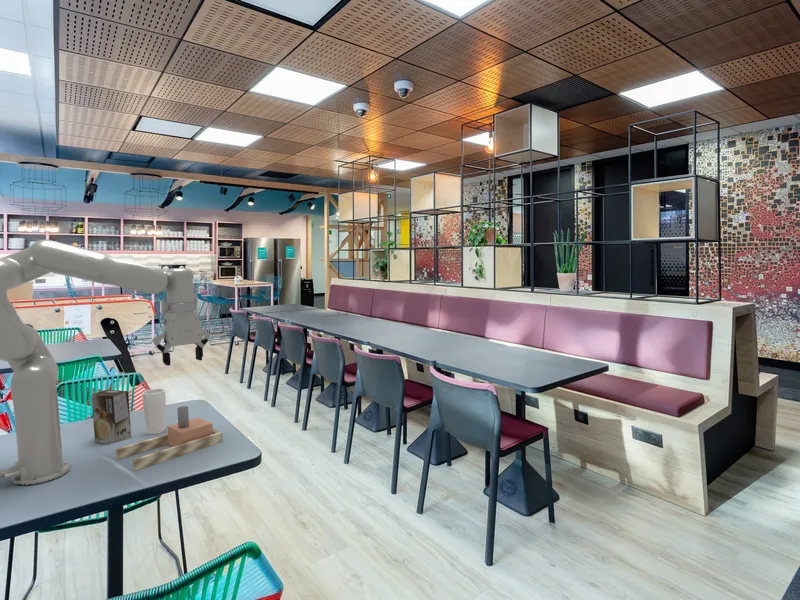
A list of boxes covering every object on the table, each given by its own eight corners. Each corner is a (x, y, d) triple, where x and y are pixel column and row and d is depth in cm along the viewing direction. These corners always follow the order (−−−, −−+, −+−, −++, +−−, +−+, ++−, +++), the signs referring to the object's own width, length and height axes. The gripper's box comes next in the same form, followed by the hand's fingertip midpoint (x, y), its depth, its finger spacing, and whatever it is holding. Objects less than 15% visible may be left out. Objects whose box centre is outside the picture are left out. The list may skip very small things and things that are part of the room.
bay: (135, 474, 128) (134, 460, 128) (116, 462, 136) (115, 448, 136) (222, 444, 148) (222, 432, 148) (201, 435, 156) (201, 424, 156)
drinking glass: (171, 431, 161) (169, 388, 159) (159, 438, 154) (157, 394, 153) (153, 430, 161) (150, 388, 160) (140, 438, 155) (137, 393, 153)
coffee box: (132, 437, 155) (129, 390, 154) (116, 445, 149) (113, 396, 147) (110, 435, 157) (106, 389, 156) (93, 442, 151) (90, 394, 150)
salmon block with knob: (182, 452, 140) (180, 413, 139) (168, 444, 146) (166, 407, 145) (213, 441, 148) (211, 404, 147) (199, 435, 153) (197, 399, 152)
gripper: (155, 311, 136) (158, 369, 137) (213, 306, 148) (215, 359, 150) (146, 309, 141) (149, 365, 142) (203, 305, 153) (205, 356, 155)
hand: (183, 362), depth 146 cm, fingers open, 9 cm apart
